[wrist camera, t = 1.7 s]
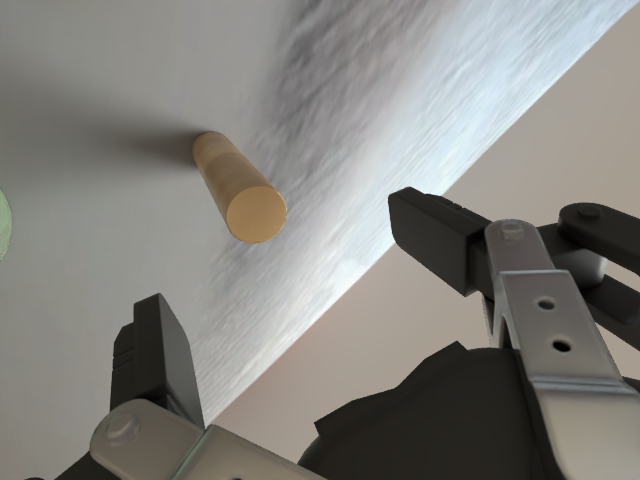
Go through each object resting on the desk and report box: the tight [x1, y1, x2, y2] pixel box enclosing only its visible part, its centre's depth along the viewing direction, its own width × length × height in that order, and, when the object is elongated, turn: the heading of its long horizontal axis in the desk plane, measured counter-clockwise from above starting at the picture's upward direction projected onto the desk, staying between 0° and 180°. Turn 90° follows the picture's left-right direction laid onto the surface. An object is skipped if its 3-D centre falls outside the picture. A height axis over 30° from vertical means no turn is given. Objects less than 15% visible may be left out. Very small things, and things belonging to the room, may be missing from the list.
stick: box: [192, 132, 287, 243], centre depth 19 cm, size 2×2×10 cm
